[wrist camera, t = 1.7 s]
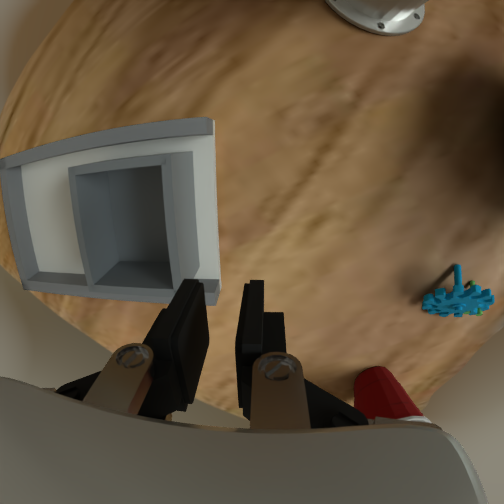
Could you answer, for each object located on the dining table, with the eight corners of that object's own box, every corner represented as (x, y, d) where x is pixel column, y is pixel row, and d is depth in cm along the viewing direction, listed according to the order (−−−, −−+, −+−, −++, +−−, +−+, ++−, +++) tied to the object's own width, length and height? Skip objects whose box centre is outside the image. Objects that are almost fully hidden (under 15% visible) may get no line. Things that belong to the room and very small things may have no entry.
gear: (405, 308, 31) (474, 290, 22) (407, 264, 33) (470, 238, 24) (449, 326, 33) (507, 313, 24) (450, 288, 36) (504, 270, 27)
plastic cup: (327, 402, 39) (337, 466, 28) (351, 351, 35) (373, 421, 24) (386, 402, 39) (405, 459, 28) (415, 354, 35) (447, 413, 24)
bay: (18, 155, 28) (-1, 159, 24) (214, 120, 26) (206, 116, 22) (39, 277, 34) (23, 289, 30) (221, 287, 33) (215, 305, 29)
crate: (101, 160, 27) (64, 168, 21) (192, 151, 26) (170, 153, 20) (115, 264, 31) (86, 291, 25) (199, 266, 31) (183, 297, 24)
